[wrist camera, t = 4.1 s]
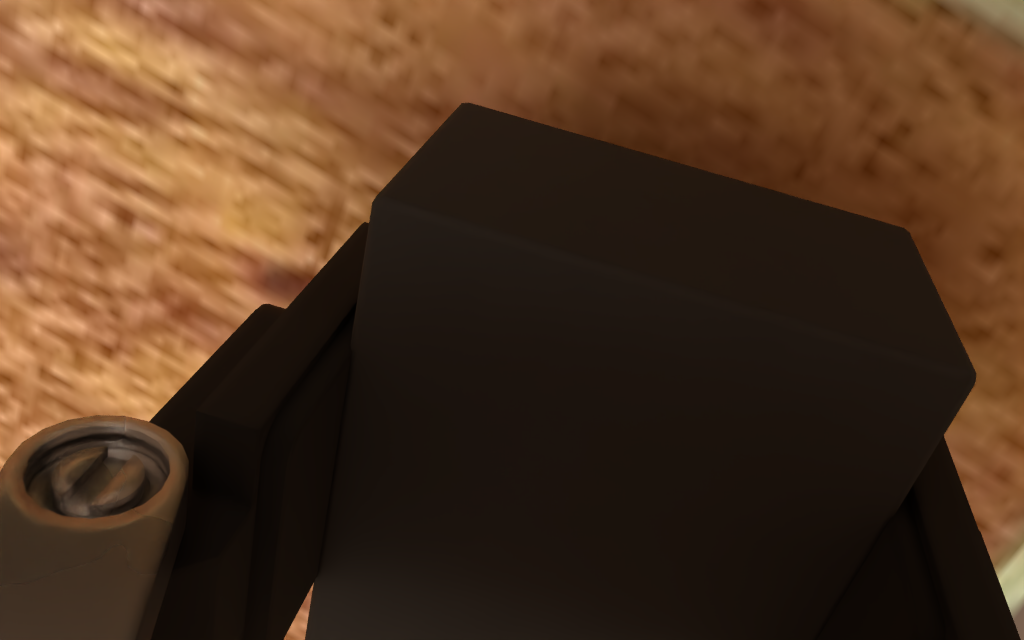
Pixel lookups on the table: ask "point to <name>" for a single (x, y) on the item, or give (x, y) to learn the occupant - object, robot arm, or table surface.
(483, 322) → the loose pad
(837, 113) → the table surface
